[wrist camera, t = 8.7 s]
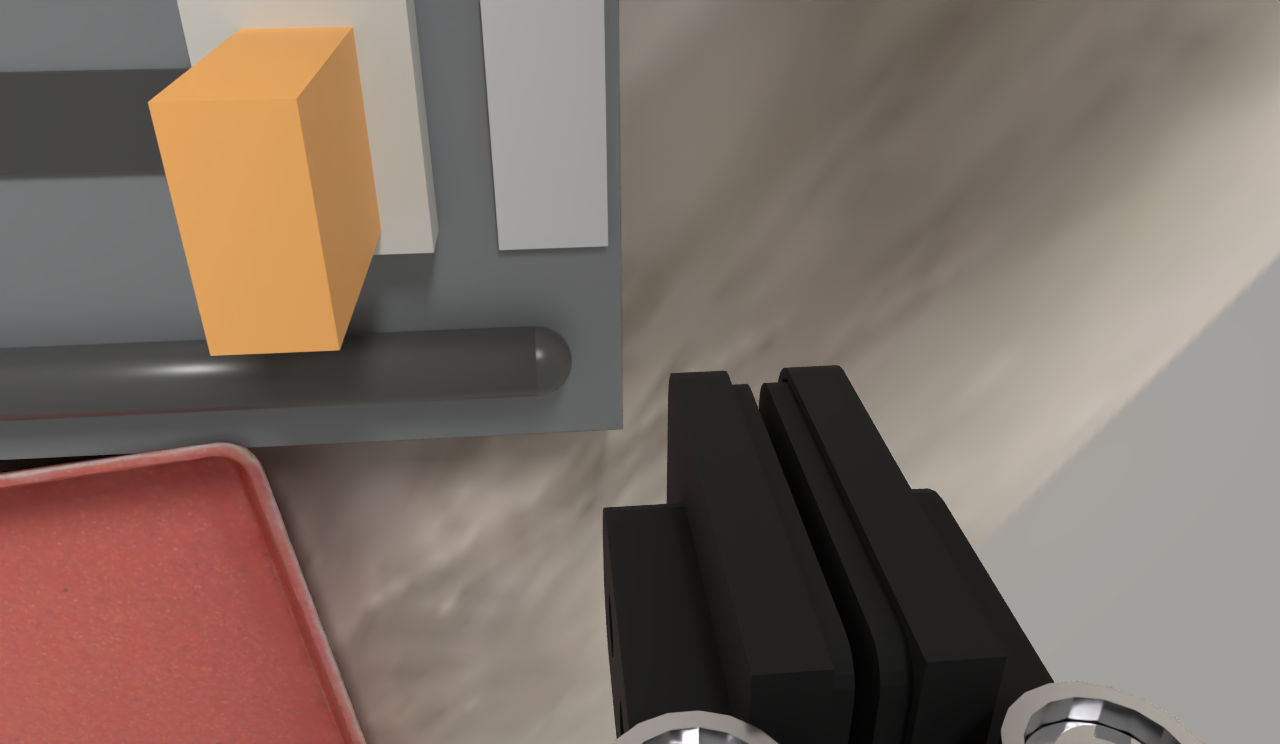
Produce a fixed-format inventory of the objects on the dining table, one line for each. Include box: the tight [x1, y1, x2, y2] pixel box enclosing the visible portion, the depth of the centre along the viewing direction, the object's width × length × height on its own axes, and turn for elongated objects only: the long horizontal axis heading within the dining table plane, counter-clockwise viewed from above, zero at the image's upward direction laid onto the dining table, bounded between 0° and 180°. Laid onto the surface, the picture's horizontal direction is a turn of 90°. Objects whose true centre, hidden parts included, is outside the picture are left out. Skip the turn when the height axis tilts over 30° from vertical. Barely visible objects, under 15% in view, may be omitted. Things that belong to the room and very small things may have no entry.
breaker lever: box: [148, 0, 439, 356], centre depth 17 cm, size 4×5×6 cm
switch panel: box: [0, 0, 623, 460], centre depth 20 cm, size 24×16×4 cm, turn 90°
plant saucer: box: [0, 442, 367, 744], centre depth 29 cm, size 18×18×3 cm
